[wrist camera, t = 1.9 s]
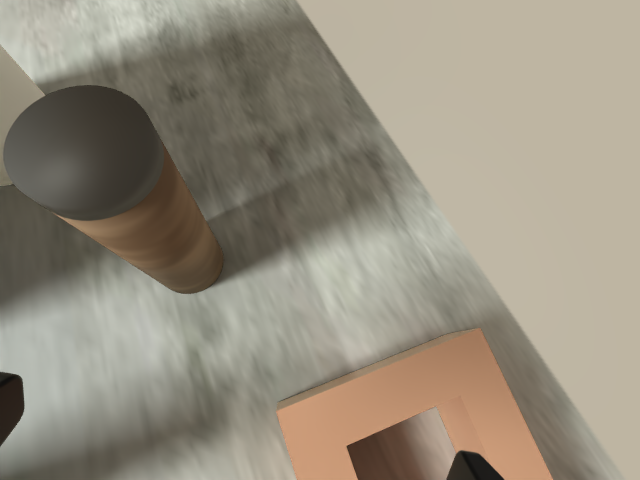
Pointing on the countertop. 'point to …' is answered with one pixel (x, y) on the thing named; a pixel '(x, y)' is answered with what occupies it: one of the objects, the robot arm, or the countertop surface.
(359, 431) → the socket block
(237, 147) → the countertop surface
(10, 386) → the robot arm
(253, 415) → the countertop surface
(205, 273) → the peg
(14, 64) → the cylindrical container
